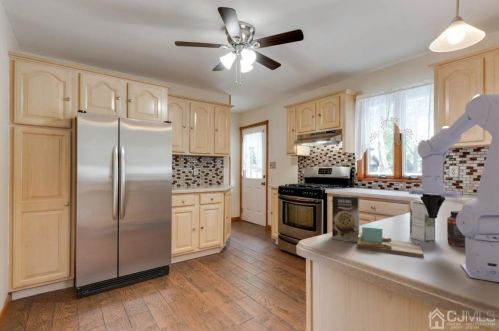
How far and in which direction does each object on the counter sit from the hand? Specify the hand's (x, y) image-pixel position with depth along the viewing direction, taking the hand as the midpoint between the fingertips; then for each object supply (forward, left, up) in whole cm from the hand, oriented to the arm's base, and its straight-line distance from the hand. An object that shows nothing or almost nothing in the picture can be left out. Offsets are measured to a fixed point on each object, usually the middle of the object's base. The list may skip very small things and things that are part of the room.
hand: (432, 218), depth 83 cm
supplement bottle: (+9, -8, -10) cm, 16 cm away
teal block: (-7, +18, -9) cm, 21 cm away
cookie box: (-2, +27, -10) cm, 29 cm away
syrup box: (+11, +2, -10) cm, 15 cm away
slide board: (-6, +13, -10) cm, 17 cm away
